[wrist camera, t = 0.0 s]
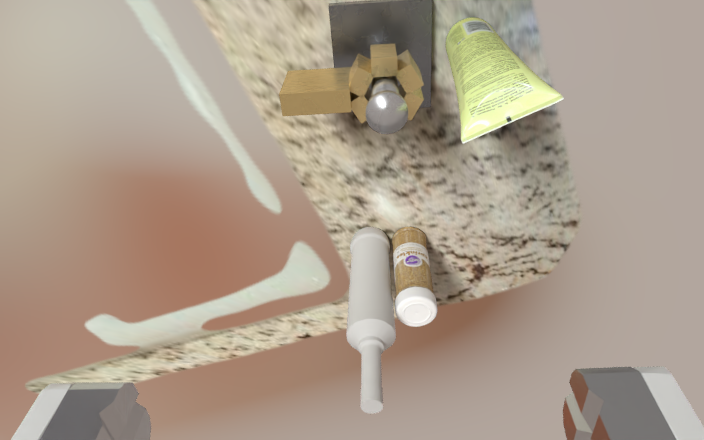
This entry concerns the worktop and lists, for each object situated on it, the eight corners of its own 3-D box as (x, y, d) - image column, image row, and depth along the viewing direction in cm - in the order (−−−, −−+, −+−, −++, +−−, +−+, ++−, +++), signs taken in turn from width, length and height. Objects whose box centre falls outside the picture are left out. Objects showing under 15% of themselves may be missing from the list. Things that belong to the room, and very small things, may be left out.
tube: (476, 78, 55) (522, 166, 39) (433, 61, 54) (461, 144, 38) (503, 26, 52) (565, 98, 36) (458, 7, 51) (500, 73, 35)
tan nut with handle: (284, 47, 48) (275, 68, 43) (419, 38, 47) (425, 58, 42) (293, 112, 51) (286, 139, 46) (418, 105, 51) (424, 131, 46)
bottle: (363, 218, 66) (362, 381, 45) (397, 236, 67) (411, 401, 46) (342, 246, 68) (332, 411, 47) (376, 262, 70) (380, 430, 49)
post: (329, 3, 51) (317, 48, 38) (431, -4, 50) (452, 39, 38) (338, 109, 57) (331, 177, 45) (429, 103, 57) (447, 172, 44)
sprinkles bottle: (421, 221, 66) (432, 294, 54) (429, 248, 68) (442, 323, 57) (386, 230, 66) (390, 303, 55) (396, 257, 69) (401, 332, 58)
